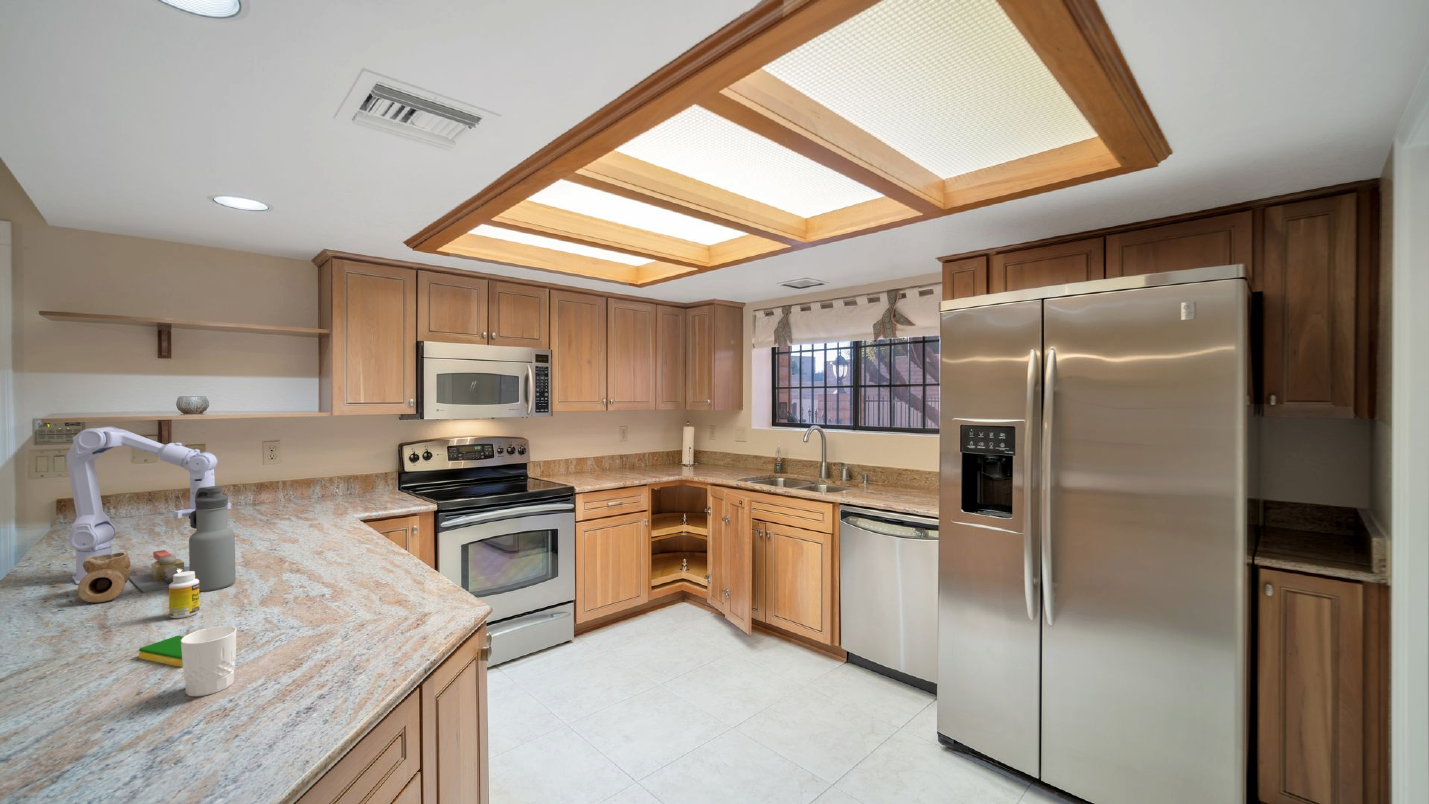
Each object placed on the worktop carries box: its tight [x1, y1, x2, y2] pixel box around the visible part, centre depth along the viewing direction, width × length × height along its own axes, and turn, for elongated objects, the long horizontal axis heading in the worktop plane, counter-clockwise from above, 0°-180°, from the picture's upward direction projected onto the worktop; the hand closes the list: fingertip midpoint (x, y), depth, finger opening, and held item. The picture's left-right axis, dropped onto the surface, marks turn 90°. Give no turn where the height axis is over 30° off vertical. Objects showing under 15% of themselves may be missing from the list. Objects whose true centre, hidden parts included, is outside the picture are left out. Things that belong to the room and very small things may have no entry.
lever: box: [152, 549, 177, 564], centre depth 174 cm, size 12×4×2 cm, turn 54°
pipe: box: [77, 552, 131, 603], centre depth 158 cm, size 9×16×10 cm, turn 40°
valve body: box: [151, 558, 185, 585], centre depth 172 cm, size 16×6×5 cm, turn 53°
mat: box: [128, 565, 190, 594], centre depth 173 cm, size 20×17×1 cm
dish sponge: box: [138, 635, 185, 668], centre depth 123 cm, size 7×14×2 cm, turn 73°
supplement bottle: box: [168, 571, 201, 619], centre depth 145 cm, size 6×6×10 cm
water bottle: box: [188, 485, 237, 593], centre depth 165 cm, size 10×10×28 cm
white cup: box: [181, 625, 238, 697], centre depth 110 cm, size 8×8×10 cm
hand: (203, 536), depth 181 cm, fingers closed
